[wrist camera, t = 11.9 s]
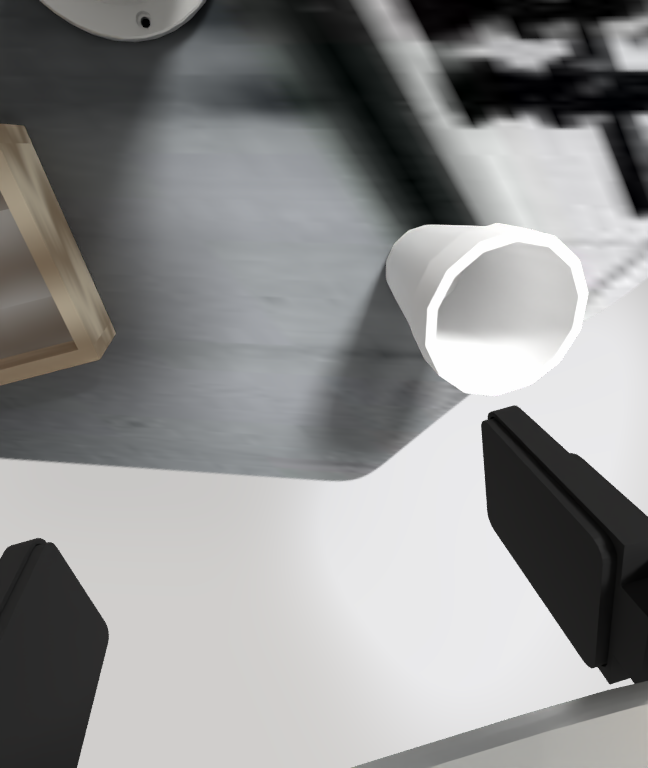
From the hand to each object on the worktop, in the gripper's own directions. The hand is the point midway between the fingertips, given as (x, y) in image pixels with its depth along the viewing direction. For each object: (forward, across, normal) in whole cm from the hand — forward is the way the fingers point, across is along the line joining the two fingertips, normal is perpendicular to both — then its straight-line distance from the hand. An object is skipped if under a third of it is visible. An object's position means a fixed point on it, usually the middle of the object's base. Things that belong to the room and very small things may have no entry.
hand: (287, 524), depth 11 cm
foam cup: (+28, -13, +4) cm, 32 cm away
